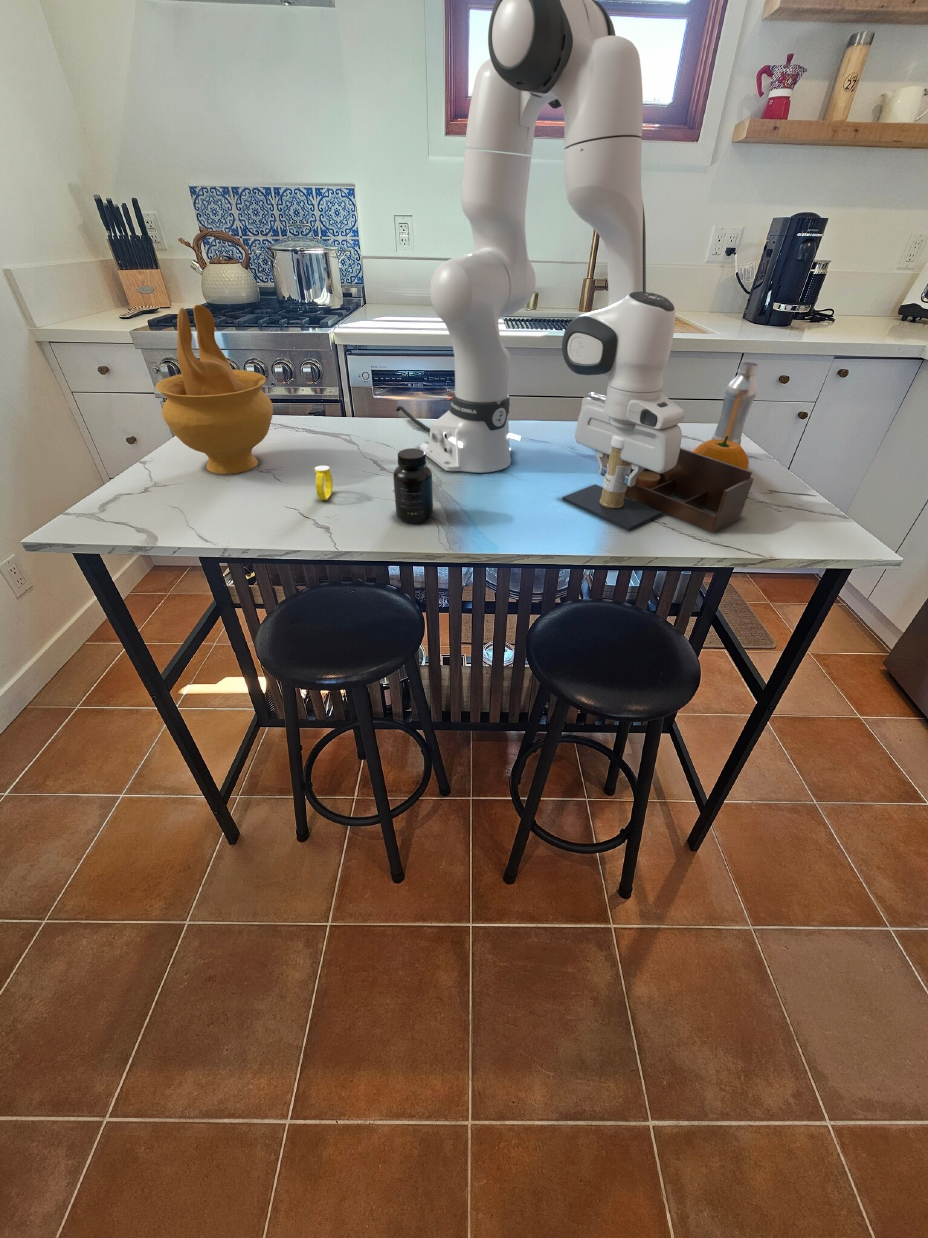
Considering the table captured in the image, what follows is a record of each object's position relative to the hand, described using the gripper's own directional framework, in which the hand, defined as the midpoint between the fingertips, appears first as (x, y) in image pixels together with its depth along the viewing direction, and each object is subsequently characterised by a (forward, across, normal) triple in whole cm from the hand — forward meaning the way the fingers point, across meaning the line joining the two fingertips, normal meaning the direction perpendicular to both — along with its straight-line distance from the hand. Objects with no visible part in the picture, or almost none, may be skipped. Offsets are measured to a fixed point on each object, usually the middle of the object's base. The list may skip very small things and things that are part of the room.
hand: (616, 480), depth 102 cm
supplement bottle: (+6, -20, -32) cm, 38 cm away
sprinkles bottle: (+5, 0, 0) cm, 5 cm away
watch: (+6, -37, -41) cm, 56 cm away
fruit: (+6, +6, +26) cm, 27 cm away
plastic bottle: (+6, -1, +42) cm, 42 cm away
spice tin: (+6, 0, +11) cm, 12 cm away
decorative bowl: (+6, -64, -49) cm, 81 cm away
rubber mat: (+6, 0, 0) cm, 6 cm away
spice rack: (+6, +7, +11) cm, 14 cm away
